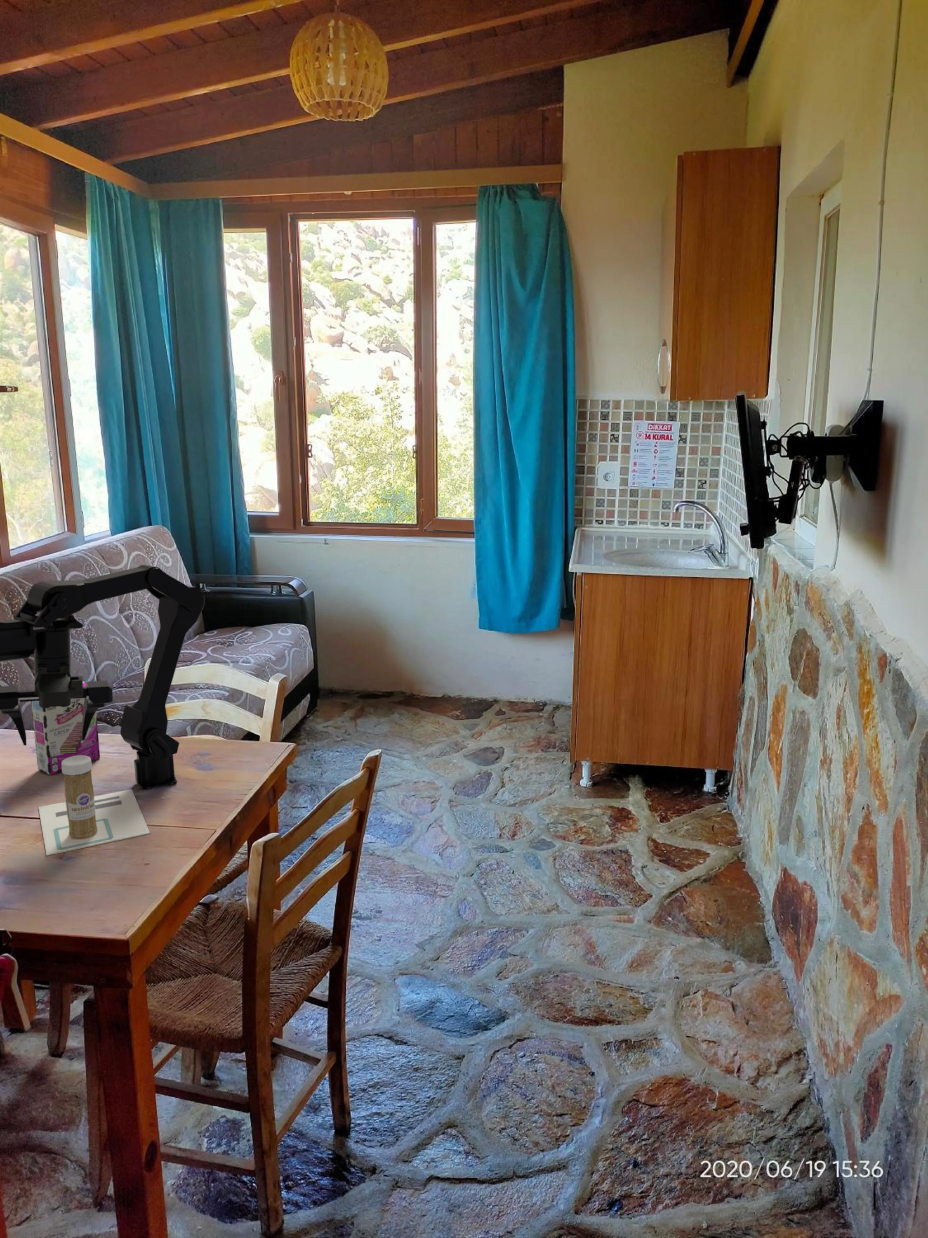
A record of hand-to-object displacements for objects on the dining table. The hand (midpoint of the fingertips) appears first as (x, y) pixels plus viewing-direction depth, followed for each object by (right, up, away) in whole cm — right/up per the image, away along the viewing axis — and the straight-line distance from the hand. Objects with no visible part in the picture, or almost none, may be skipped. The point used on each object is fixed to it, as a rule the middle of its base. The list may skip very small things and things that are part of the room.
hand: (54, 742), depth 152 cm
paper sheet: (+6, -14, +1) cm, 15 cm away
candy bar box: (-9, -8, +25) cm, 28 cm away
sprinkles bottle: (+7, -15, -4) cm, 17 cm away
